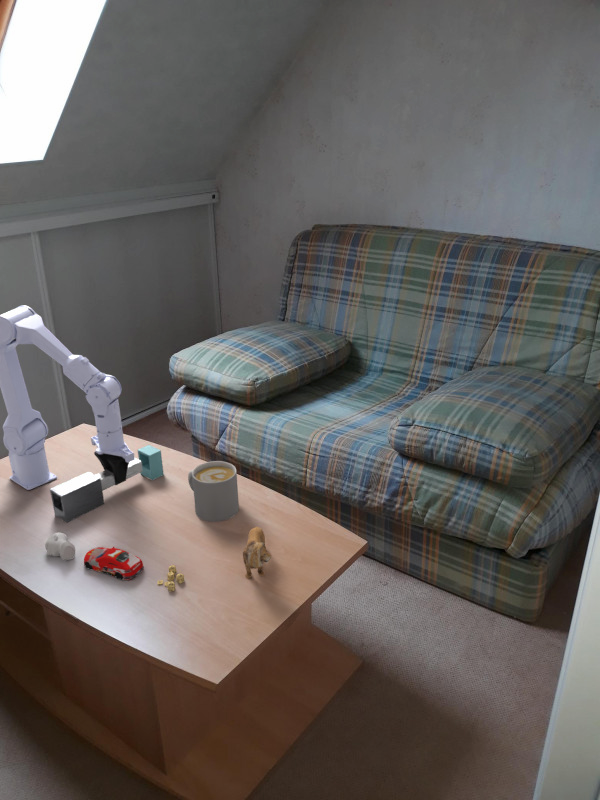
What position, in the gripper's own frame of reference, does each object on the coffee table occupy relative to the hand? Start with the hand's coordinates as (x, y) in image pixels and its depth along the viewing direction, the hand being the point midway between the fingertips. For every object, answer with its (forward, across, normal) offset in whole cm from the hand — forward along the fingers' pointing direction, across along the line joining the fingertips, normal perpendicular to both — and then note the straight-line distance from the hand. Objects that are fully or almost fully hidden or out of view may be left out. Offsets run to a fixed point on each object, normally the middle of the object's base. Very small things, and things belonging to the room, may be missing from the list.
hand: (116, 478), depth 158 cm
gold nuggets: (+4, +37, -13) cm, 39 cm away
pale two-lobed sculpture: (+4, +12, -23) cm, 26 cm away
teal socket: (+3, 0, +10) cm, 11 cm away
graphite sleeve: (+3, 0, -11) cm, 11 cm away
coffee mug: (+4, +23, +10) cm, 25 cm away
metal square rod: (+1, 0, -4) cm, 4 cm away
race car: (+4, +24, -18) cm, 30 cm away
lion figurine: (+4, +46, +1) cm, 47 cm away
